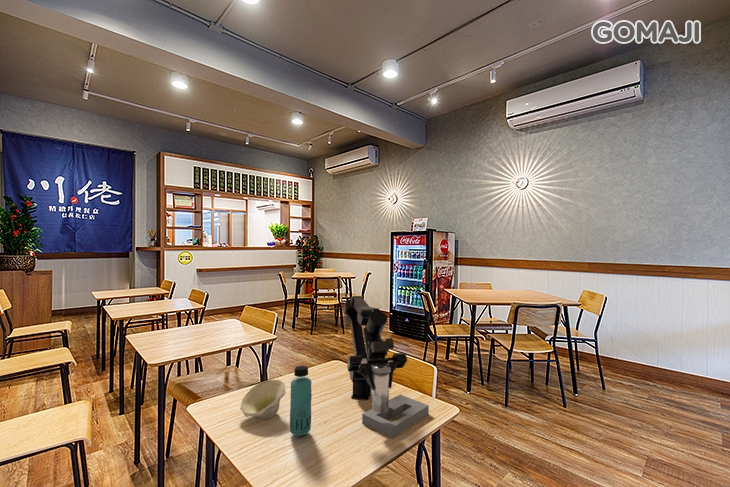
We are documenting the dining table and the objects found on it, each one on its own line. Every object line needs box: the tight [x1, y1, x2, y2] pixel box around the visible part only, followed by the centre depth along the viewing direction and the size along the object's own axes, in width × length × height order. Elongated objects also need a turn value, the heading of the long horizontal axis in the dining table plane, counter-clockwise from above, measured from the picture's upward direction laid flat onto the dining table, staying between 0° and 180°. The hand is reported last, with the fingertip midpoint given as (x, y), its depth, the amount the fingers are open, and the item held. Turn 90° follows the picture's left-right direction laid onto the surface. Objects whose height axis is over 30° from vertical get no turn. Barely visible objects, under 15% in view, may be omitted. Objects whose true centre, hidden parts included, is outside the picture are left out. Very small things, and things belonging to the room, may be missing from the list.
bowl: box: [239, 379, 287, 420], centre depth 109 cm, size 15×14×10 cm
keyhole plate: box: [361, 394, 430, 439], centre depth 109 cm, size 20×12×3 cm, turn 137°
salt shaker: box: [371, 363, 391, 413], centre depth 101 cm, size 6×6×13 cm
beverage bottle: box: [289, 365, 313, 436], centre depth 99 cm, size 6×7×20 cm
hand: (382, 388), depth 100 cm, fingers closed on salt shaker, 5 cm apart
